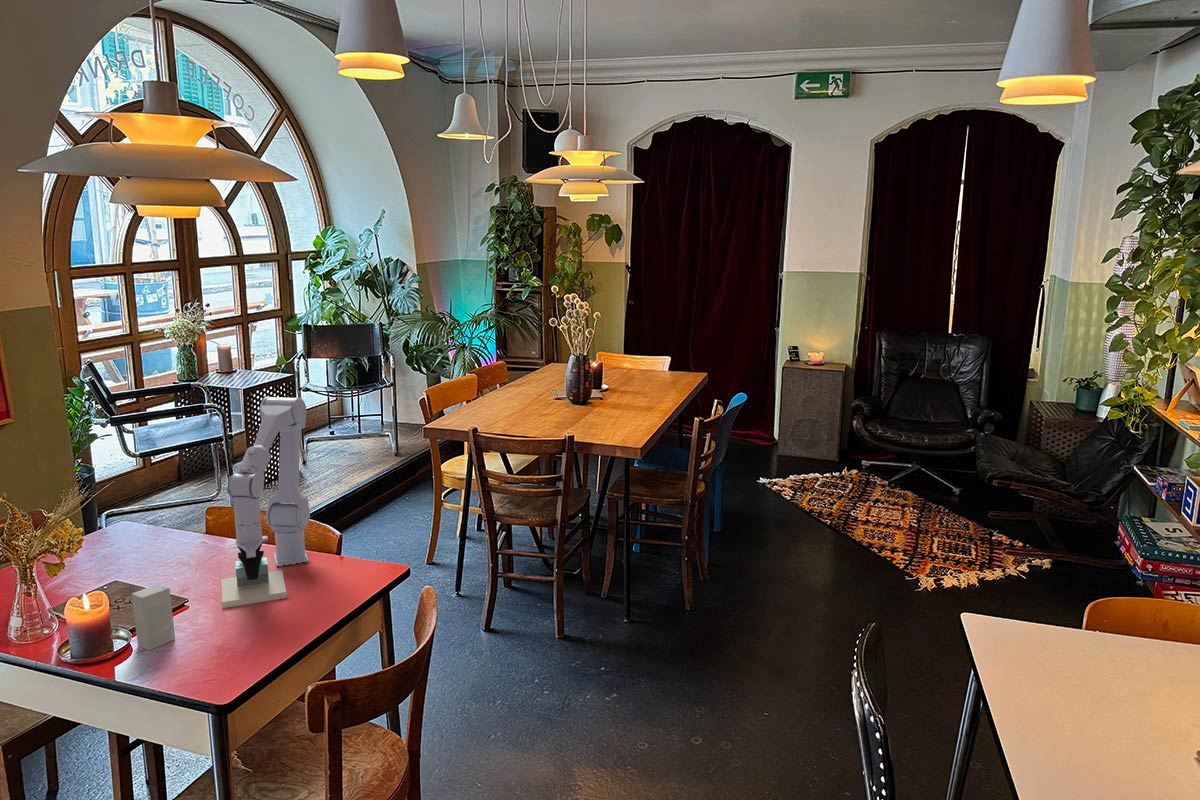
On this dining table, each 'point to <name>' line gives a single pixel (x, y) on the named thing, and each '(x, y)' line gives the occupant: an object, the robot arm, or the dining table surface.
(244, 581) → the block
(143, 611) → the skincare box
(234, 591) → the stand tile
